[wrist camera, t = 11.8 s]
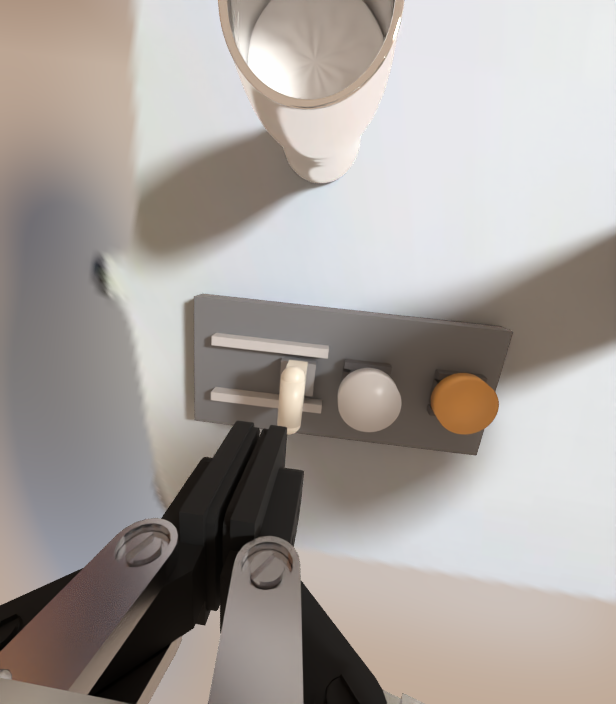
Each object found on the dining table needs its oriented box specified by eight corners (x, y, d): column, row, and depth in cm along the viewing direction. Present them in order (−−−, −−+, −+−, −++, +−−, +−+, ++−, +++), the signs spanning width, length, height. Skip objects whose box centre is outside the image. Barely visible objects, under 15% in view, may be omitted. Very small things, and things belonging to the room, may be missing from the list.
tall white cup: (346, 202, 27) (363, 144, 12) (266, 171, 26) (190, 74, 12) (380, 108, 25) (449, -93, 10) (294, 74, 24) (243, -182, 10)
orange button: (490, 372, 28) (505, 383, 25) (476, 422, 29) (489, 437, 27) (433, 365, 28) (443, 376, 25) (422, 415, 29) (430, 430, 27)
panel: (500, 326, 29) (521, 335, 26) (467, 443, 32) (482, 463, 29) (202, 293, 30) (188, 298, 27) (202, 410, 33) (189, 426, 30)
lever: (317, 348, 28) (314, 373, 22) (311, 404, 30) (306, 441, 24) (283, 344, 28) (271, 368, 22) (279, 400, 30) (266, 436, 24)
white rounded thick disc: (399, 367, 26) (406, 379, 24) (389, 419, 28) (395, 435, 25) (341, 360, 27) (342, 371, 24) (334, 412, 28) (334, 428, 26)
